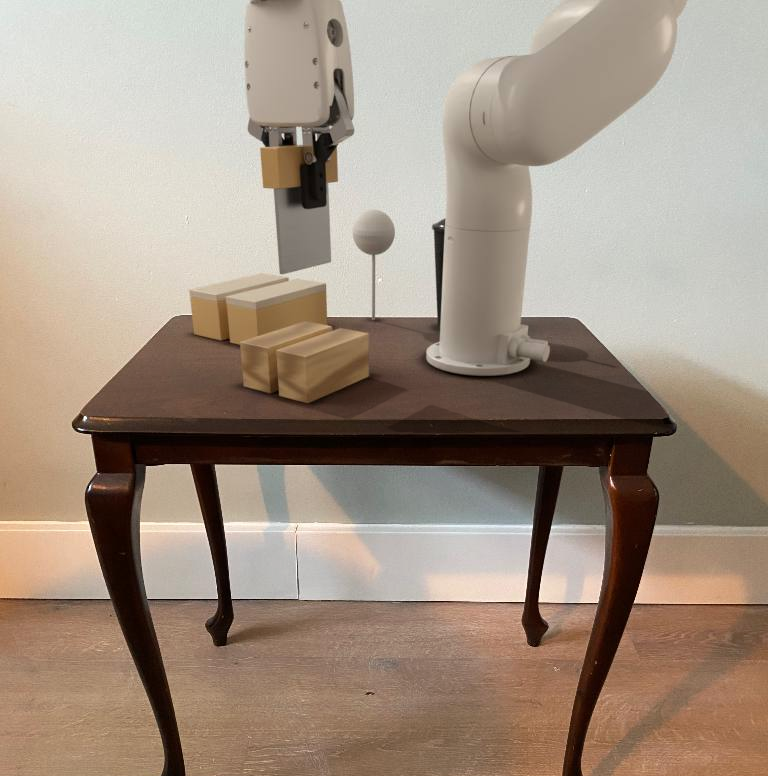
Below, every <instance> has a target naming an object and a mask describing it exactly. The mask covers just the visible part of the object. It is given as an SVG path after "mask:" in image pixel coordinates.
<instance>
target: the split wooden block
mask: <svg viewBox="0 0 768 776" xmlns="http://www.w3.org/2000/svg"><path fill="white" fill-rule="evenodd" d="M239 348H240V358H241V371H242V382H243V387H245V388H248V389H252V390H256V391H260V392H264V393H267V394H272V393H275V392H278V396H279V397H281V398H286V399H290V400H293V401H296V402H297V401H298V402H301V403H304V404H310V403H313V402H314V401H317V400H319V399H321V398H323V397H325V396H328V395H330V394H332V393H335V392H337V391H340V390H342V389H344V388H346V387H348V386H351V385H353V384H355V383H357V382H359V381H363V380H364V379H366V378H368V377H370V333H368V332H363V331H358V330H353V329H348V328H342V327H340V328H337V329H333V326H332V325H328V324H327V325H323V324H318V323H313V322H307V321H305V322H302V323H299V324H295V325H292V326H289V327H286V328H283V329H279V330H276V331H273V332H270V333H267V334H264V335H260V336H257V337H254V338H251V339H248V340H245V341H241V342H240V345H239Z"/></svg>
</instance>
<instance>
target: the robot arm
mask: <svg viewBox="0 0 768 776" xmlns="http://www.w3.org/2000/svg"><path fill="white" fill-rule="evenodd" d="M688 1H689V0H564V1H562V2H561V3H560V4H559V5H557V6H555V8H554V9H553V10H551V11H550V12H549V14H548V15H547V16H545V18H544V19H543V20H542V22H541V23H540V24H539V26H538V27H537V29H536V31H535V33H534V35H533V37H532V39H531V41H530V46H529V50H528V51H529V52H528V54H522V55H521V54H520V55H506V56H497V57H496V56H495V57H489V58H485V59H481V60H478V61H477V62H475V63H473V64H471V65H469V66H467V67H466V68H464V70H462V71H461V72H460V73H459V74H458V75H457V77H455V79H454V81H453V82H452V83H451V85H450V87H449V89H448V91H447V93H446V95H445V99H444V103H443V109H442V117H441V118H442V119H441V130H442V144H443V153H444V162H445V164H444V165H445V176H446V177H445V181H446V182H445V183H446V184H445V186H446V189H445V190H446V191H445V192H446V193H445V217H444V218H445V236H444V258H443V280H442V302H441V324H440V329H439V341H438V342H435V343H433V344H430V346H428V347H427V349H426V353H425V356H426V357H425V358H426V361H427V363H428V364H430V365H431V366H433V367H434V368H436V369H437V370H441V371H444V372H446V373H447V372H448V373H450V374H451V373H452V374H458V375H463V376H472V377H473V376H474V377H475V376H476V377H495V376H497V377H498V376H505V375H511V374H515V373H518V372H522V371H523V370H525V369H526V368H528V367H529V365H530V363H531V360H532V361H537V362H541V363H546V362H547V361H548V359H549V356H550V352H551V348H550V347H551V346H550V345H549V342H548V341H547V340H543V339H534V338H531V337H530V335H528V334H529V333H528V332H529V325H527V324H522V313H523V302H524V292H525V285H526V284H525V283H526V272H527V265H528V264H527V262H528V253H529V242H530V232H531V225H532V217H533V216H532V215H533V214H532V213H533V188H532V187H533V186H532V179H531V173H530V172H531V171H530V167H541V166H542V167H543V166H548V165H551V164H554V163H556V162H558V161H560V160H562V159H564V158H566V157H567V156H569V155H571V154H572V153H574V152H575V151H576V150H578V149H579V148H581V147H582V146H583V145H585V144H586V143H587V142H589V141H590V140H591V139H592V138H594V137H595V136H596V135H598V134H599V133H600V132H602V131H603V130H604V129H606V128H607V127H608V126H609V125H611V124H612V123H614V122H615V121H616V120H617V119H618V118H620V117H621V116H622V115H624V114H625V113H626V112H627V111H628V110H630V109H631V108H632V107H633V106H635V105H636V104H637V103H638V102H639V101H641V100H642V99H643V98H645V97H646V96H647V95H648V94H649V93H650V92H651V91H652V90H653V89H654V88H655V86H656V85H657V84H658V83H659V81H660V80H661V78H662V77H663V76H664V74H665V72H666V70H667V69H668V66H669V65H670V62H671V60H672V57H673V54H674V52H675V47H676V42H677V36H678V21H677V19H678V18H679V17H680V16H681V14H682V13H683V12H684V10H685V8H686V5H687V3H688ZM245 7H246V8H245V18H244V35H243V36H244V40H243V48H244V49H243V57H244V58H243V63H244V66H243V67H244V86H245V98H246V106H247V111H248V115H249V117H248V118H249V120H248V123H247V132H248V134H249V135H250V136H251V137H254V138H255V139H256V140H258V141H259V142H262V145H263V146H264V147H273V146H288V145H298V137H297V128H301V137H302V138H301V139H302V145H303V153H304V161H305V164H300V177H301V202H302V207H303V208H304V209H314V208H320V207H325V206H326V204H327V200H326V195H327V188H326V163H328V162H330V160H331V154H332V153H333V151H334V150H335V148H336V147H337V148H338V145H339V144H340V143H342V142H345V141H346V140H348V139H349V138H351V137H352V136H353V135H354V134H355V126H354V123H353V119H354V116H355V92H354V91H355V89H354V88H355V87H354V76H353V64H352V63H353V62H352V55H351V54H352V53H351V45H350V38H349V32H348V26H347V21H346V17H345V12H344V8H343V4H342V0H249V2H248V3H246V6H245ZM330 127H331V128H330ZM282 134H283V135H282Z"/></svg>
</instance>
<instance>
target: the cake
mask: <svg viewBox="0 0 768 776" xmlns="http://www.w3.org/2000/svg"><path fill="white" fill-rule="evenodd" d="M188 293H189V301H190V309H191V320H192V326H193V334H194V335H196V336H200V337H204V338H209V339H213V340H217V341H220V342H221V341H225V340H228V339H229V342H230V344H234V345H238V346H240V342H241V341H245V340H248V339H251V338H254V337H257V336H260V335H264V334H267V333H270V332H273V331H276V330H279V329H283V328H286V327H289V326H292V325H295V324H299V323H302V322H305V321H307V322H313V323H318V324H323V325H328V304H327V302H328V300H327V299H328V298H327V283H326V282H321V281H314V280H309V279H301V278H295V279H291V280H290V278H289V276H283V275H276V274H272V273H271V274H269V273H263V272H260V273H256V274H251V275H247V276H243V277H239V278H234V279H230V280H229V279H228V280H225V281H220V282H216V283H212V284H208V285H203V286H198V287H194V288H190V289H188Z"/></svg>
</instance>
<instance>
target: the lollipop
mask: <svg viewBox="0 0 768 776" xmlns="http://www.w3.org/2000/svg"><path fill="white" fill-rule="evenodd" d="M395 229H396V228H395V224H394V222H393V220H392V218H390V216H389V215H388V214H387V213H386V212H384V211H382V210H379V209H369V210H365V211H363V212H362V213H361V214H359V215H358V216H357V217H356V219H355V221H354V223H353V226H352V231H351V232H352V238H353V241H354V244H355V246H356V247H357V249H359V250H360V251H361V252H363V253H364V254H366V255H369V256H371V321H376V256H378V255H381V254H384V253H385V252H387V251H388V250H389V249H390V247H391V246H392V244H393V243H394V240H395V235H396V230H395Z"/></svg>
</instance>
